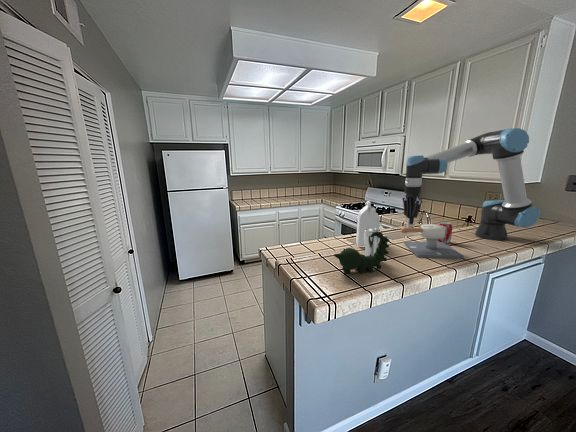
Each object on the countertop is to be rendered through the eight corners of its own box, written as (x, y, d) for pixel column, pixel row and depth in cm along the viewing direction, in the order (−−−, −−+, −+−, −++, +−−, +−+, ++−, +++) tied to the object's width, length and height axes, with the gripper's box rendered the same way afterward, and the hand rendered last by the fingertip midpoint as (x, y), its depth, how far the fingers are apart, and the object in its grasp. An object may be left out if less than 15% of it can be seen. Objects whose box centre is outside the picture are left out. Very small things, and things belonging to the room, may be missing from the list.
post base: (442, 244, 131) (443, 231, 130) (463, 258, 111) (465, 243, 109) (403, 243, 135) (404, 230, 133) (417, 257, 114) (418, 242, 113)
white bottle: (437, 232, 126) (438, 223, 125) (449, 238, 115) (450, 229, 114) (397, 233, 128) (397, 224, 127) (405, 238, 117) (405, 229, 116)
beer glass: (377, 261, 111) (379, 232, 107) (362, 260, 113) (363, 231, 110) (377, 256, 117) (378, 228, 114) (363, 255, 119) (364, 227, 116)
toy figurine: (377, 267, 108) (328, 268, 104) (382, 229, 105) (331, 228, 100) (389, 276, 99) (336, 277, 95) (395, 234, 96) (340, 234, 91)
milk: (356, 240, 143) (357, 200, 137) (375, 241, 140) (377, 200, 135) (357, 247, 131) (359, 203, 126) (378, 248, 129) (381, 203, 124)
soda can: (453, 243, 132) (455, 224, 129) (441, 244, 132) (443, 224, 129) (445, 240, 138) (447, 221, 136) (433, 240, 139) (435, 221, 136)
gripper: (398, 185, 124) (395, 226, 129) (414, 187, 112) (410, 233, 117) (411, 184, 125) (408, 225, 130) (428, 186, 112) (424, 232, 118)
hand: (409, 229), depth 123 cm, fingers closed
